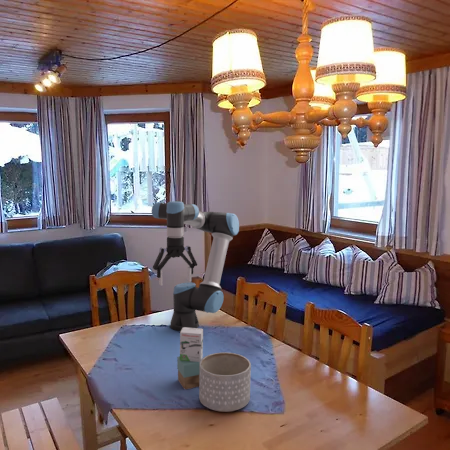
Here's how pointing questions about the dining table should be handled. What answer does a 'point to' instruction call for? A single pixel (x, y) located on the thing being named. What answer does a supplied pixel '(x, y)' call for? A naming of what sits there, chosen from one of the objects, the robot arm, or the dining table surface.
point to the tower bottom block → (188, 381)
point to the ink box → (191, 344)
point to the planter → (224, 381)
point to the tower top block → (187, 367)
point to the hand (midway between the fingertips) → (175, 283)
